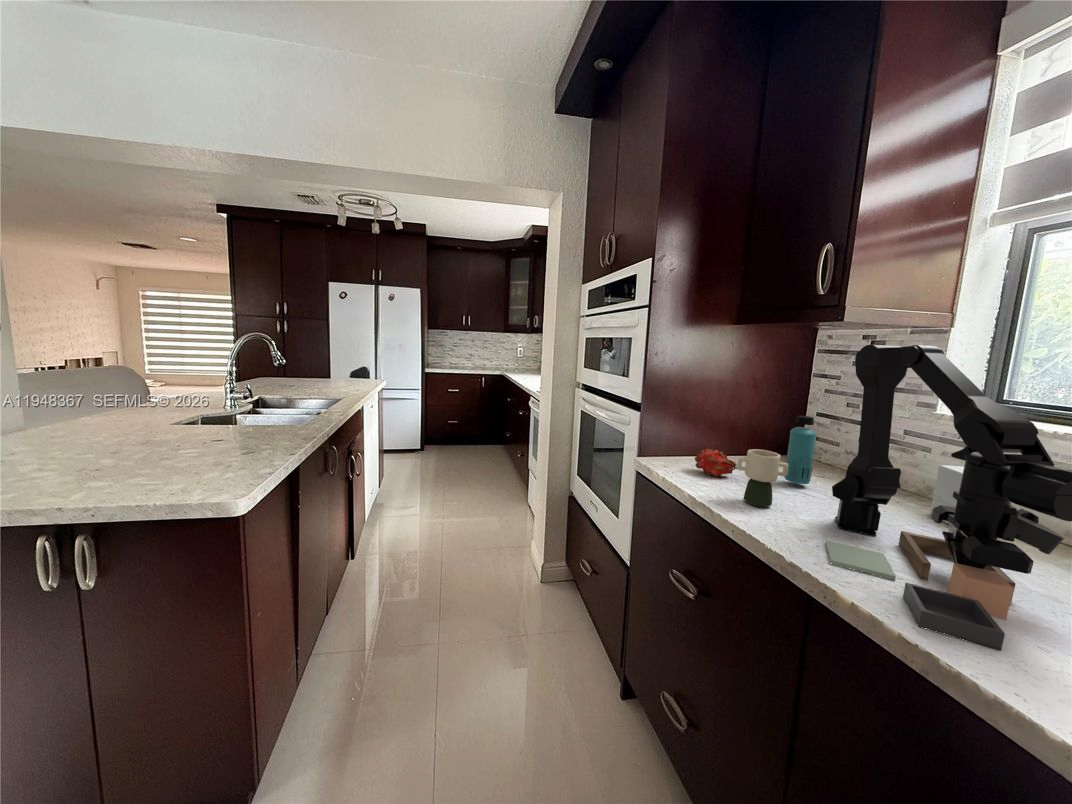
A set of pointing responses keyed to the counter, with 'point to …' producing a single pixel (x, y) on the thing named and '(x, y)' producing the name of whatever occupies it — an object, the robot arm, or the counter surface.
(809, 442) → the beverage bottle
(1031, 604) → the counter surface
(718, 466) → the dragon fruit
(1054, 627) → the counter surface
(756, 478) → the character mug
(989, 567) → the stall
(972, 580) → the block
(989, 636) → the tray
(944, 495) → the supplement box
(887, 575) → the mat
